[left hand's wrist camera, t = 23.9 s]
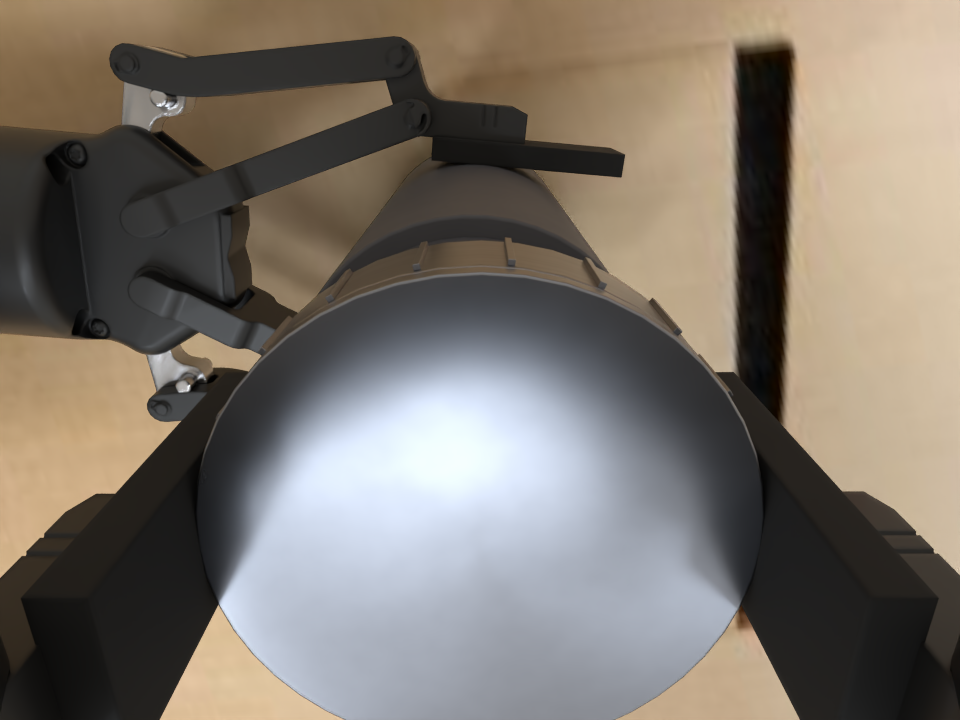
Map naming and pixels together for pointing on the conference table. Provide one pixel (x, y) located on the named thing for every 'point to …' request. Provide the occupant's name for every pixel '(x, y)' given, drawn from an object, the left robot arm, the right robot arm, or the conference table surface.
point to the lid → (479, 493)
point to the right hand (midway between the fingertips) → (596, 281)
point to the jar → (467, 214)
